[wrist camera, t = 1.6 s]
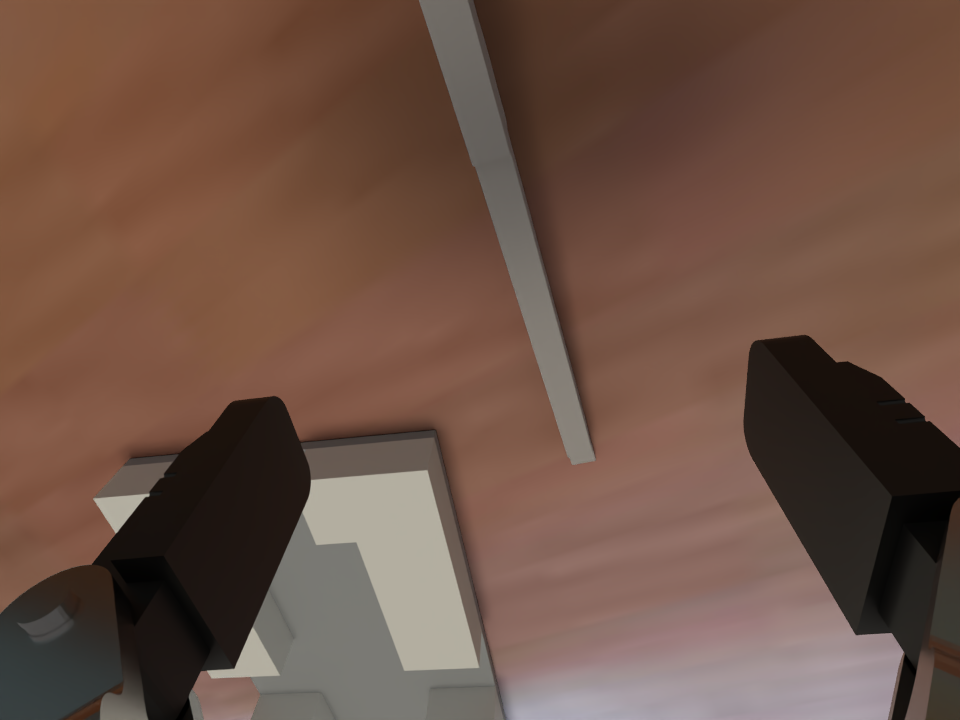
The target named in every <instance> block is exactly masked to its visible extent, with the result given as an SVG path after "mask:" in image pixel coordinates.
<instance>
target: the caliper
mask: <svg viewBox="0 0 960 720" xmlns="http://www.w3.org/2000/svg"><path fill="white" fill-rule="evenodd" d="M419 2H420V5H421V8H422V11H423V14H424V18H425V21H426V24H427V27H428V30H429V33H430V36H431V39H432V42H433V45H434V48H435V51H436V55H437V58H438V61H439V64H440V67H441V70H442V73H443V76H444V79H445V82H446V85H447V89H448V92H449V95H450V98H451V101H452V104H453V107H454V110H455V113H456V116H457V119H458V122H459V126H460V129H461V132H462V135H463V138H464V141H465V144H466V147H467V150H468V153H469V156H470V159H471V163H472V166H475V168H476V171H477V174H478V178H479V181H480V184H481V187H482V190H483V193H484V196H485V200H486V203H487V206H488V209H489V212H490V215H491V218H492V221H493V225H494V228H495V231H496V234H497V237H498V240H499V243H500V247H501V250H502V253H503V256H504V259H505V262H506V265H507V268H508V272H509V275H510V278H511V281H512V284H513V287H514V290H515V293H516V297H517V300H518V303H519V306H520V309H521V312H522V315H523V319H524V322H525V325H526V328H527V331H528V334H529V337H530V340H531V344H532V347H533V350H534V353H535V356H536V359H537V362H538V366H539V369H540V372H541V375H542V378H543V381H544V384H545V387H546V391H547V394H548V397H549V400H550V403H551V406H552V409H553V412H554V415H555V419H556V422H557V425H558V428H559V431H560V434H561V437H562V440H563V444H564V447H565V450H566V453H567V456H568V458H569V457H570V460H571V464H572V465H576V464H581V463H586V462H591V461H596V458H595V454H594V450H593V447H592V443H591V439H590V436H589V431H588V427H587V423H586V419H585V415H584V412H583V408H582V404H581V400H580V396H579V392H578V389H577V385H576V381H575V378H574V374H573V370H572V367H571V363H570V359H569V356H568V352H567V348H566V344H565V341H564V337H563V333H562V330H561V326H560V322H559V319H558V315H557V311H556V308H555V304H554V300H553V296H552V293H551V289H550V285H549V282H548V278H547V274H546V271H545V267H544V263H543V259H542V256H541V252H540V248H539V245H538V241H537V237H536V233H535V230H534V226H533V222H532V219H531V215H530V211H529V208H528V204H527V200H526V196H525V193H524V189H523V185H522V182H521V178H520V174H519V171H518V167H517V163H516V159H515V156H514V152H513V148H512V145H511V141H510V137H509V134H508V129H507V122H506V117H505V113H504V109H503V106H502V102H501V99H500V95H499V92H498V88H497V84H496V81H495V77H494V73H493V69H492V65H491V61H490V58H489V54H488V51H487V47H486V43H485V40H484V36H483V33H482V29H481V26H480V23H479V20H478V16H477V12H476V9H475V5H474V1H473V0H419Z"/></svg>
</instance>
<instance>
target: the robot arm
mask: <svg viewBox="0 0 960 720" xmlns="http://www.w3.org/2000/svg"><path fill="white" fill-rule="evenodd" d="M744 434H745V439H746V443H747V447H748V450H749V453H750V455H751V457H752V459H753V461H754V462H755V464H756V466H757V467H758V469H759V471H760V473H761V474H762V476H763V478H764V479H765V481H766V483H767V484H768V486H769V488H770V490H771V491H772V493H773V495H774V496H775V498H776V500H777V502H778V503H779V505H780V507H781V508H782V510H783V512H784V513H785V515H786V517H787V519H788V520H789V522H790V524H791V525H792V527H793V529H794V530H795V532H796V534H797V536H798V537H799V539H800V541H801V542H802V544H803V546H804V548H805V549H806V551H807V553H808V554H809V556H810V558H811V559H812V561H813V563H814V565H815V566H816V568H817V570H818V571H819V573H820V575H821V576H822V578H823V580H824V582H825V583H826V585H827V587H828V588H829V590H830V592H831V594H832V595H833V597H834V599H835V600H836V602H837V604H838V605H839V607H840V609H841V611H842V612H843V614H844V616H845V617H846V619H847V621H848V622H849V624H850V626H851V628H852V629H853V631H854V633H855V634H856V635H865V634H882V633H892V634H893V635H894V637H895V639H896V640H897V642H898V643H899V645H900V646H901V648H902V649H903V651H904V653H903V656H902V659H901V662H900V665H899V668H898V673H897V678H896V683H895V688H894V693H893V697H892V702H891V707H890V712H889V717H888V720H960V448H959V447H958V446H957V445H956V444H955V443H954V442H952V441H951V440H950V439H949V438H948V437H947V436H946V435H945V434H944V433H942V432H941V431H940V430H939V429H938V428H937V427H936V426H935V425H934V424H932V423H931V422H930V421H928V422H926V421H925V416H924V415H923V414H921V413H920V412H919V411H918V410H917V409H916V408H915V407H914V406H913V405H911V404H910V403H905V398H904V397H903V396H901V395H900V394H899V393H898V392H897V391H896V390H895V389H894V388H893V387H891V386H890V385H889V384H888V383H887V382H886V381H885V380H884V379H883V378H881V377H879V376H877V375H875V374H873V373H871V372H869V371H867V370H864V369H862V368H860V367H858V366H856V365H854V364H852V363H850V362H848V361H847V362H838V363H836V362H835V361H834V360H833V359H832V358H831V357H830V356H829V355H828V354H827V353H826V352H825V351H824V350H823V349H822V348H821V347H820V346H819V345H818V344H817V343H816V342H815V341H814V340H813V339H812V338H810V337H809V336H807V335H799V336H791V337H782V338H774V339H765V340H757V341H755V342H753V344H752V345H751V348H750V352H749V360H748V372H747V384H746V397H745V409H744ZM310 488H311V473H310V468H309V464H308V461H307V459H306V456H305V454H304V451H303V448H302V446H301V443H300V441H299V438H298V436H297V433H296V431H295V428H294V426H293V423H292V421H291V418H290V416H289V413H288V411H287V408H286V406H285V404H284V403H283V401H282V400H281V399H280V398H278V397H276V396H272V397H263V398H255V399H246V400H238V401H233V402H232V403H230V404H229V405H228V406H227V408H226V409H225V410H224V412H223V413H222V414H221V416H220V417H219V418H218V420H217V421H216V422H215V424H214V425H213V426H212V427H211V429H210V430H209V431H208V432H206V433H204V434H203V435H202V436H201V437H199V438H198V439H197V440H195V441H194V442H193V443H192V444H190V445H189V446H188V447H186V448H185V449H184V450H183V451H181V452H180V454H179V455H178V456H177V457H176V459H175V460H174V461H173V462H172V464H171V465H170V466H169V467H168V469H167V470H166V471H165V473H164V478H160V479H159V480H158V481H157V483H156V484H155V485H154V486H153V488H152V489H151V490H150V491H149V497H145V498H144V499H143V500H142V502H141V503H140V504H139V505H138V507H137V508H136V509H135V510H134V512H133V513H132V514H131V515H130V517H129V518H128V519H127V521H126V522H125V523H124V524H123V526H122V527H121V528H120V529H119V531H118V532H117V533H116V534H115V536H114V537H113V538H112V539H111V541H110V542H109V543H108V545H107V546H106V547H105V548H104V550H103V551H102V552H101V553H100V555H99V556H98V557H97V558H96V560H95V561H94V562H93V563H92V565H83V566H77V567H73V568H70V569H67V570H64V571H61V572H59V573H57V574H54V575H52V576H50V577H48V578H46V579H45V580H43V581H41V582H39V583H38V584H36V585H34V586H33V587H31V588H30V589H28V590H27V591H26V592H24V593H23V594H21V595H20V596H19V597H18V598H16V599H15V600H14V601H13V602H12V603H11V604H9V605H8V606H7V607H6V608H5V609H4V610H3V611H2V612H1V614H0V720H204V718H203V714H202V710H201V705H200V702H199V699H198V697H197V695H196V694H195V692H194V691H193V690H192V688H193V686H194V684H195V682H196V680H197V678H198V676H199V674H200V672H201V671H209V670H226V669H235V666H236V664H237V662H238V659H239V657H240V655H241V652H242V650H243V648H244V645H245V643H246V641H247V639H248V636H249V634H250V632H251V629H252V627H253V625H254V622H255V620H256V618H257V615H258V613H259V611H260V609H261V606H262V604H263V602H264V599H265V597H266V595H267V592H268V590H269V588H270V585H271V583H272V581H273V579H274V576H275V574H276V572H277V569H278V567H279V565H280V562H281V560H282V558H283V555H284V553H285V551H286V549H287V546H288V544H289V542H290V539H291V537H292V535H293V532H294V530H295V528H296V525H297V523H298V521H299V519H300V516H301V514H302V512H303V509H304V507H305V505H306V502H307V500H308V497H309V494H310Z"/></svg>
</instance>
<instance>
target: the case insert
mask: <svg viewBox="0 0 960 720" xmlns="http://www.w3.org/2000/svg"><path fill="white" fill-rule="evenodd" d="M301 446H302V448H303V451H304V454H305V456H306V459H307V461H308V464H309V468H310V473H311V488H310V494H309V497H308V500H307V502H306V505H305V507H304V509H303V512H302V514H301V516H300V519H299V521H298V523H297V525H296V528H295V530H294V532H293V535H292V537H291V539H290V542H289V544H288V546H287V549H286V551H285V553H284V555H283V558H282V560H281V562H280V565H279V567H278V569H277V572H276V574H275V576H274V579H273V581H272V583H271V585H270V588H269V590H268V592H267V595H266V597H265V599H264V602H263V604H262V606H261V609H260V611H259V613H258V615H257V618H256V620H255V622H254V625H253V627H252V629H251V632H250V634H249V636H248V639H247V641H246V643H245V645H244V648H243V650H242V652H241V655H240V657H239V659H238V662H237V664H236V666H235V669H226V670H209V671H207V672H208V673H209V675H210V676H211V678H232V677H250V678H251V680H252V681H253V683H254V685H255V686H256V688H257V689H258V691H259V693H260V694H261V695H260V697H259V700H258V702H257V705H256V707H255V710H254V713H253V715H252V718H251V720H506V718H505V714H504V709H503V705H502V701H501V697H500V693H499V689H498V685H497V681H496V676H495V672H494V668H493V664H492V660H491V656H490V652H489V648H488V644H487V639H486V635H485V631H484V627H483V623H482V619H481V615H480V611H479V606H478V602H477V598H476V594H475V590H474V586H473V582H472V578H471V573H470V569H469V565H468V561H467V557H466V553H465V549H464V545H463V541H462V536H461V532H460V528H459V524H458V520H457V516H456V512H455V508H454V503H453V499H452V495H451V491H450V487H449V483H448V479H447V475H446V470H445V466H444V462H443V458H442V454H441V450H440V446H439V442H438V438H437V433H436V430H430V431H419V432H409V433H398V434H388V435H377V436H366V437H356V438H345V439H334V440H324V441H313V442H303V443H301ZM178 455H179V454H175V455H165V456H154V457H143V458H133V459H129V460H128V461H127V462H126V463H125V464H124V465H123V467H122V468H121V469H120V470H119V471H118V472H117V473H116V474H115V475H114V476H113V477H112V479H111V480H110V481H109V482H108V483H107V484H106V485H105V486H104V487H103V488H102V489H101V490H100V492H99V493H98V494H97V495H96V496H95V497H94V498H93V499H94V501H95V502H96V504H97V505H98V507H99V508H100V510H101V511H102V513H103V514H104V516H105V517H106V519H107V520H108V522H109V524H110V525H111V527H112V528H113V530H114V531H115V533H117V532H118V531H119V529H120V528H121V527H122V526H123V524H124V523H125V522H126V521H127V519H128V518H129V517H130V515H131V514H132V513H133V512H134V510H135V509H136V508H137V507H138V505H139V504H140V503H141V502H142V500H143V499H144V498H145V497H149V491H150V490H151V489H152V488H153V486H154V485H155V484H156V483H157V481H158V480H159V479H160V478H164V473H165V471H166V470H167V469H168V467H169V466H170V465H171V464H172V462H173V461H174V460H175V459H176V457H177V456H178Z"/></svg>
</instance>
